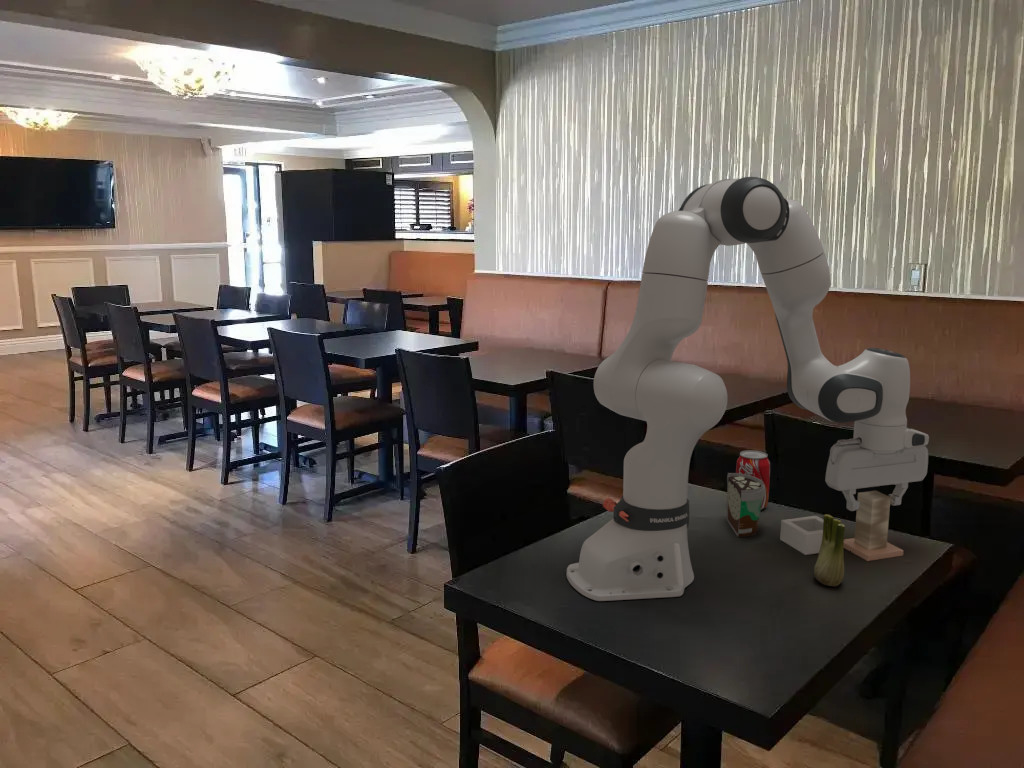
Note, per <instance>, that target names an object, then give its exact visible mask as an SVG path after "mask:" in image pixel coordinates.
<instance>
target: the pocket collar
mask: <svg viewBox="0 0 1024 768" xmlns="http://www.w3.org/2000/svg"><path fill="white" fill-rule="evenodd" d="M823 520H824V518H821V517H820V516H818V515H812V516H811V515H810V516H802V517H797V518H796V517H794V518H789V519H781V521H780V534H779V535H780V538H779V540H780V541H782V542H784V543H785V544H786V545H788V546H789V547H792V548H794V549H795V550H796V551H798V552H799V553H801V554H803V555H805V556H807V555H808V556H809V555H813V554H819V551H820V547H821V543H822V537H823Z"/></svg>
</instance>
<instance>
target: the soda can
mask: <svg viewBox="0 0 1024 768" xmlns="http://www.w3.org/2000/svg"><path fill="white" fill-rule="evenodd" d="M735 467H736V468H735V473H738V474H745V475H750V476H753V477H756V478H758V479H760V480H761V481H762V482H763V484H764V486H765V492H766V495H765V496H764V497H763V498H762V501H761V509H760V511H762V510H763V509H765V508H767V507H768V505H769V504H768V503H769V495H770V479H771V478H770V477H771V475H770V474H771V462H770V460H769V458H768V453H766V452H764V451H762V450H761V451H759V450H751V449H750V450H749V449H748V450H742V451H740V452H739V457H738V458H737V460H736V466H735Z"/></svg>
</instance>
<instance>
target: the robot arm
mask: <svg viewBox="0 0 1024 768" xmlns="http://www.w3.org/2000/svg"><path fill="white" fill-rule="evenodd" d="M654 224H655V225H654V227H653V229H652V231H651V232H652V233H651V235H650V237H649V241H648V245H647V248H646V251H645V252H646V253H645V257H644V261H643V267H642V273H641V279H640V285H639V286H640V287H639V291H638V296H637V303H636V308H635V313H634V317H633V319H632V323H631V325H630V327H629V329H628V332H627V334H626V336H625V337H624V339H623V341H622V342H621V344H620V345H619V347H618V348H617V349H616V350H615V351H614V352H613V353H612V354H611V355H610V356H608V357H606V358H605V359H604V360H603V361H601V362H600V364H599V365H598V367H597V369H596V371H595V373H594V378H593V391H594V392H593V393H594V395H595V398H596V399H597V401H598V402H599V404H600V405H602V406H603V407H606V408H607V409H609V410H610V411H613V412H615V413H616V414H618V415H620V416H624V417H627V418H631V419H632V418H633V419H636V420H639V421H640V420H641V421H644V422H646V424H647V425H646V426H647V427H646V434H645V437H644V440H643V441H642V442H639V443H637V444H636V445H634V446H632V447H631V448H630V449H629V450H628V451H627V452H626V454H625V456H624V459H623V480H622V481H623V486H622V489H623V490H622V491H623V493H622V496H621V497H620V499H619V501H618V502H616V501H614V499H612V498H610V497H608V498H605V499H604V501H603V503H602V506H603V508H604V509H605V510H606V511H608V512H609V513H612V512H613V517H612V518H611V519H610V520H609V521H608V522H606V523H605V524H604V525H603V526H602V527H601V528H599V529H598V530H596V532H594V533H593V534H592V535H590V536H588V537H587V539H585V540H584V541H583V543H582V546H581V550H580V554H579V561H578V562H575V563H571V564H568V566H567V567H566V573H565V574H566V579H567V581H568V583H569V584H570V586H572V587H573V588H574V589H575V590H576V591H577V592H578V593H580V594H581V595H582V596H584V597H586V598H588V599H591V600H594V601H597V602H607V601H609V602H610V601H623V600H626V601H627V600H642V599H643V600H644V599H657V598H658V599H659V598H675V597H678V598H679V597H681V596H682V595H683V594H684V592H685V588H686V587H688V586H689V585H691V584H692V583H693V582H694V580H695V574H694V571H693V567H692V561H691V557H690V551H689V542H688V528H689V524H690V500H689V498H688V485H689V484H688V483H689V471H690V463H691V458H692V454H693V451H694V449H695V446H696V445H697V443H698V441H700V440H699V439H701V437H702V436H703V435H704V434H705V433H706V432H707V431H708V430H710V429H713V427H715V426H716V425H718V423H719V422H720V420H722V418H723V415H725V412H726V410H727V405H728V391H727V387H726V385H725V381H724V380H723V378H722V377H721V376H720V375H718V373H715V372H713V371H711V370H708V369H707V368H703V367H701V366H698V365H696V364H693V363H687V362H686V363H685V362H682V361H681V362H680V361H675V360H674V361H673V360H672V357H673V354H674V352H675V349H676V348H677V347H678V345H679V344H680V343H681V341H682V340H684V339H686V338H688V337H690V336H691V335H693V334H695V333H697V331H698V330H699V328H701V325H702V322H703V314H704V308H705V305H706V304H705V302H706V296H707V289H708V284H709V275H710V269H711V268H710V266H711V262H712V258H713V256H714V254H715V252H716V250H717V249H718V248H719V246H726V247H727V246H729V247H730V246H731V247H732V246H739V245H743V244H744V245H745V244H746V245H748V247H749V248H750V249H751V250H752V251H753V253H754V255H755V258H756V261H757V266H758V268H759V272H760V274H761V277H762V281H763V283H764V286H765V288H766V291H767V294H768V296H769V300H770V301H771V305H772V308H773V311H774V316H775V320H776V325H777V327H778V330H779V335H780V338H781V343H782V347H783V350H784V355H785V358H786V363H787V376H786V391H787V394H788V396H789V398H790V400H791V401H792V403H793V404H795V406H797V407H799V409H803V410H806V411H808V412H811V413H813V414H815V415H818V416H819V417H821V418H824V419H826V420H828V421H829V422H832V423H840V424H843V423H845V424H846V423H851V422H854V426H853V438H849V439H838V440H837V442H835V443H834V444H833V445H832V446H831V447H830V449H829V457H828V461H827V465H826V472H825V478H824V479H825V480H824V481H825V483H826V485H827V486H828V487H829V488H831V489H833V490H836V491H838V492H842V495H843V496H844V498H845V500H846V509H847V510H848V511H849V512H855V511H856V512H857V510H859V505H860V502H859V501H857V500H856V498H855V496H854V495H856V493H857V490H859V489H865V488H866V489H867V488H875V487H880V486H890V485H895V487H894V489H893V491H892V493H889V494H888V496H889V497H891V499H890V506H893V507H894V506H900V505H901V504H902V499H903V496H904V495H905V493H906V491H907V489H908V488H909V483H913V482H922V481H923V480H924V479H925V477H926V476H927V474H928V467H929V466H928V465H929V450H928V448H927V445H928V444H929V440H930V437H929V434H927V433H925V432H922V431H919V430H917V429H914V428H911V427H909V426H908V418H907V413H906V409H907V405H908V403H909V399H910V393H911V392H910V391H911V369H910V364H909V363H910V362H909V360H908V358H906V356H905V355H903V354H901V353H898V352H896V351H893V350H888V349H883V348H878V347H877V348H876V347H869V348H865V349H864V351H863V352H862V353H861V354H859V355H858V356H856V357H855V358H854V359H851V360H850V361H848V362H845V363H843V364H840V365H838V366H837V365H835V364H833V363H832V362H830V361H829V360H828V359H827V358H826V356H824V354H823V352H822V349H821V345H820V341H819V338H818V335H817V332H816V325H815V323H814V318H813V314H814V313H813V311H814V309H815V307H816V306H818V305H819V304H820V303H821V302H822V301H823V300H824V299H825V298H826V296H827V294H828V292H829V290H830V288H831V275H830V268H829V267H830V266H829V263H828V258H827V256H826V253H825V251H824V250H825V249H824V247H823V245H822V242H821V239H820V237H819V235H818V232H817V230H816V227H815V225H814V224H813V222H812V220H811V218H810V216H809V214H808V212H807V210H806V209H805V207H804V206H803V204H801V202H799V201H797V200H795V199H792V198H785V197H784V195H783V194H782V192H781V191H780V189H779V188H778V187H777V186H776V185H775V184H774V183H773V182H772V181H769V180H768V179H765V178H762V177H758V176H744V177H741V178H724V179H720V180H716V181H714V182H711V183H708V184H703V185H701V186H698V187H696V188H695V189H694V190H693V191H691V192H690V193H689V194H688V195H687V196H686V197H685V199H683V202H682V204H681V205H680V207H679V209H678V210H674V211H671V212H667V213H665V214H662V215H661V216H660V217H659V218H658V219H657V221H656V222H655V223H654Z"/></svg>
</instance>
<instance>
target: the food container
mask: <svg viewBox="0 0 1024 768" xmlns="http://www.w3.org/2000/svg"><path fill="white" fill-rule="evenodd" d="M726 477H727V478H726V482H727V487H726V488H727V491H726V493H727V494H726V495H727V496H726V497H727V498H726V499H727V500H726V501H727V503H726V507H727V508H726V521H727V523H728V524H729V525H730V527H731V529H732V530H733V532H734V533H735V535H736V536H737V538H746V537H751V536H754V535H756V533H758V530H759V522H760V514H761V510H760V509H761V501H762V498H763V497H764V496H765V495H766V492H765V486H764V484H763V482H762V481H761V480H760V479H758V478H756V477H753V476H750V475H745V474H738V473H736V472H727V476H726Z"/></svg>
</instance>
